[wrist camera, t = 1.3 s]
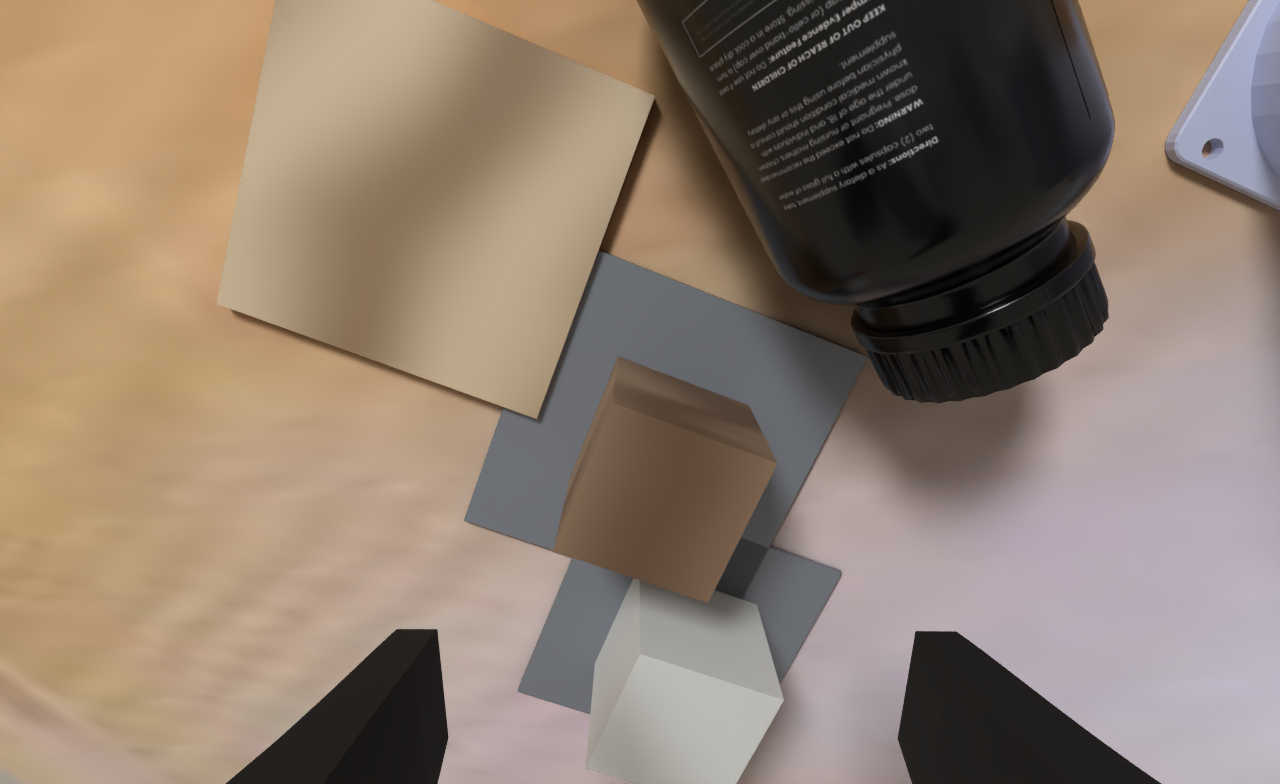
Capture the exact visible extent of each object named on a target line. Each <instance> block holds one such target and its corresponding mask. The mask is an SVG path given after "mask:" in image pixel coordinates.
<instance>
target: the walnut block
mask: <svg viewBox="0 0 1280 784" xmlns="http://www.w3.org/2000/svg"><path fill="white" fill-rule="evenodd" d="M777 464H778V463H777V461H776V459H775V457H774V455H773V453H772V451H771V449H770V447H769V445H768V443H767V441H766V439H765V437H764V435H763V433H762V431H761V429H760V427H759V425H758V423H757V421H756V419H755V417H754V415H753V413H752V411H751V408H750V406H749V405H747V404H744V403H741V402H739V401H736V400H733V399H731V398H728V397H725V396H723V395H720V394H717V393H715V392H712V391H710V390H707V389H704V388H702V387H699V386H696V385H694V384H691V383H688V382H686V381H683V380H680V379H678V378H675V377H672V376H670V375H667V374H664V373H662V372H659V371H657V370H654V369H651V368H649V367H646V366H643V365H641V364H638V363H635V362H633V361H630V360H627V359H625V358H622V357H619V356H618V357H617V359H616V362H615V364H614V367H613V370H612V372H611V375H610V377H609V380H608V382H607V385H606V387H605V390H604V392H603V395H602V397H601V400H600V402H599V405H598V407H597V410H596V413H595V415H594V418H593V420H592V423H591V425H590V428H589V430H588V433H587V435H586V438H585V440H584V443H583V445H582V448H581V451H580V453H579V456H578V458H577V461H576V463H575V466H574V468H573V471H572V473H571V476H570V479H569V483H568V488H567V492H566V497H565V501H564V505H563V510H562V514H561V519H560V523H559V528H558V532H557V536H556V541H555V545H554V550H553V551H554V552H557V553H560V554H563V555H566V556H569V557H572V558H575V559H578V560H581V561H584V562H587V563H590V564H593V565H596V566H599V567H602V568H605V569H608V570H611V571H614V572H617V573H620V574H623V575H626V576H629V577H632V578H635V579H638V580H641V581H644V582H647V583H650V584H653V585H656V586H659V587H662V588H665V589H667V590H670V591H673V592H676V593H679V594H682V595H685V596H688V597H691V598H694V599H697V600H700V601H703V602H706V603H708V602H709V600H710V598H711V596H712V594H713V592H714V590H715V588H716V586H717V584H718V582H719V580H720V578H721V576H722V574H723V572H724V570H725V568H726V566H727V564H728V562H729V560H730V558H731V556H732V554H733V552H734V550H735V548H736V546H737V544H738V542H739V540H740V538H741V536H742V534H743V532H744V530H745V528H746V526H747V524H748V522H749V520H750V518H751V516H752V514H753V512H754V510H755V508H756V506H757V504H758V502H759V500H760V498H761V496H762V494H763V492H764V490H765V488H766V486H767V484H768V482H769V480H770V478H771V476H772V474H773V472H774V470H775V468H776V466H777Z"/></svg>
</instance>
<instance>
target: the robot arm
mask: <svg viewBox="0 0 1280 784" xmlns="http://www.w3.org/2000/svg"><path fill="white" fill-rule="evenodd" d="M1207 141H1209V142H1210V143H1211V151H1210V154H1209V155H1208V156H1207V157H1206V158H1204V157H1203V156H1202V149H1203V146H1204V144H1205V143H1206V142H1207ZM1165 151H1166V154H1167V156H1168V158H1170V159H1171V160H1172V161H1173V162H1175V163H1177V164H1180V165H1182V166H1184V167H1186V168H1188V169H1190V170H1193V171H1195V172H1197V173H1199V174H1201V175H1203V176H1205V177H1208V178H1210V179H1212V180H1214V181H1216V182H1218V183H1221V184H1223V185H1225V186H1227V187H1229V188H1231V189H1233V190H1236V191H1238V192H1240V193H1242V194H1244V195H1246V196H1249V197H1251V198H1253V199H1255V200H1257V201H1259V202H1261V203H1264V204H1266V205H1268V206H1270V207H1272V208H1274V209H1277V210H1279V211H1280V0H1249V1H1248V3H1247V5H1246V6H1245V8H1244V10H1243V11H1242V13H1241V15H1240V16H1239V18H1238V20H1237V21H1236V23H1235V25H1234V26H1233V28H1232V30H1231V31H1230V33H1229V35H1228V36H1227V38H1226V40H1225V41H1224V43H1223V45H1222V46H1221V48H1220V50H1219V51H1218V53H1217V55H1216V56H1215V58H1214V60H1213V61H1212V63H1211V65H1210V66H1209V68H1208V70H1207V71H1206V73H1205V75H1204V77H1203V78H1202V80H1201V82H1200V83H1199V85H1198V87H1197V88H1196V90H1195V92H1194V93H1193V95H1192V97H1191V98H1190V100H1189V102H1188V103H1187V105H1186V107H1185V108H1184V110H1183V112H1182V113H1181V115H1180V117H1179V118H1178V120H1177V122H1176V123H1175V125H1174V127H1173V128H1172V130H1171V132H1170V133H1169V135H1168V138H1167V140H1166V143H1165ZM447 741H448V729H447V720H446V710H445V700H444V690H443V681H442V671H441V661H440V652H439V642H438V632H437V629H397V630H395V631H394V632H393V633H392V634H391V635H390V636H389V637H388V638H387V639H386V640H385V641H383V642H382V643H381V644H380V645H379V646H378V647H377V648H376V649H375V650H374V651H373V652H372V653H371V654H369V655H368V656H367V657H366V658H365V659H364V660H363V661H362V662H361V663H360V664H359V665H358V666H357V667H356V668H355V669H354V670H353V671H352V672H350V673H349V674H348V675H347V676H346V677H345V678H344V679H343V680H342V681H341V682H340V683H339V684H338V685H337V686H336V687H335V688H334V689H332V690H331V691H330V692H329V693H328V694H327V695H326V696H325V697H324V698H323V699H322V700H321V701H320V702H319V703H317V704H316V705H315V706H314V707H313V708H312V709H311V710H310V711H309V712H308V713H306V714H305V715H304V716H303V717H302V718H301V719H300V720H299V721H298V722H297V723H295V724H294V725H293V726H292V727H291V728H290V729H289V730H288V731H287V732H286V733H285V734H283V735H282V736H281V737H280V738H279V739H278V740H277V741H276V742H274V743H273V744H272V745H271V746H270V747H269V748H267V749H266V750H265V751H264V752H263V753H261V754H260V755H259V756H258V757H257V758H256V759H254V760H253V761H252V762H251V763H250V764H248V765H247V766H246V767H245V768H244V769H243V770H241V771H240V772H239V773H238V774H237V775H235V776H234V777H233V778H232V779H231V780H230V781H228V782H227V783H226V784H437V783H438V779H439V775H440V771H441V767H442V762H443V758H444V754H445V750H446V745H447ZM898 741H899V744H900V747H901V750H902V753H903V757H904V760H905V763H906V766H907V769H908V772H909V775H910V778H911V781H912V784H1161V783H1159V782H1158V781H1157V780H1155V779H1154V778H1152V777H1151V776H1149V775H1148V774H1146V773H1145V772H1144V771H1142V770H1141V769H1139V768H1138V767H1136V766H1135V765H1134V764H1132V763H1131V762H1129V761H1128V760H1127V759H1125V758H1124V757H1122V756H1121V755H1120V754H1118V753H1117V752H1116V751H1114V750H1113V749H1111V748H1110V747H1109V746H1107V745H1106V744H1105V743H1103V742H1102V741H1100V740H1099V739H1098V738H1096V737H1095V736H1094V735H1092V734H1091V733H1090V732H1088V731H1087V730H1086V729H1084V728H1083V727H1082V726H1080V725H1079V724H1078V723H1076V722H1075V721H1074V720H1072V719H1071V718H1070V717H1068V716H1067V715H1066V714H1064V713H1063V712H1062V711H1060V710H1059V709H1058V708H1056V707H1055V706H1054V705H1053V704H1051V703H1050V702H1049V701H1047V700H1046V699H1045V698H1043V697H1042V696H1041V695H1039V694H1038V693H1037V692H1036V691H1034V690H1033V689H1032V688H1030V687H1029V686H1028V685H1027V684H1025V683H1024V682H1023V681H1021V680H1020V679H1019V678H1017V677H1016V676H1015V675H1014V674H1012V673H1011V672H1010V671H1008V670H1007V669H1006V668H1005V667H1003V666H1002V665H1001V664H999V663H998V662H997V661H995V660H994V659H993V658H991V657H990V656H989V655H988V654H986V653H985V652H984V651H982V650H981V649H980V648H978V647H977V646H976V645H974V644H973V643H971V642H970V641H969V640H967V639H966V638H964V637H963V636H962V635H960V634H959V633H957V632H938V631H916V632H915V638H914V644H913V650H912V656H911V662H910V668H909V674H908V680H907V686H906V692H905V698H904V704H903V710H902V716H901V722H900V728H899V734H898Z"/></svg>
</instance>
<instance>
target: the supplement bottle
mask: <svg viewBox="0 0 1280 784" xmlns="http://www.w3.org/2000/svg"><path fill="white" fill-rule="evenodd" d="M637 2H638V4H639V6H640V8H641V10H642V12H643V14H644V16H645V18H646V19H647V21H648V23H649V25H650V27H651V29H652V31H653V33H654V35H655V37H656V39H657V41H658V43H659V45H660V47H661V49H662V51H663V53H664V55H665V57H666V59H667V60H668V62H669V64H670V66H671V68H672V70H673V72H674V74H675V76H676V78H677V80H678V82H679V84H680V86H681V88H682V90H683V92H684V94H685V96H686V98H687V100H688V101H689V103H690V105H691V107H692V109H693V111H694V113H695V115H696V117H697V119H698V121H699V123H700V125H701V127H702V129H703V131H704V133H705V135H706V137H707V139H708V141H709V142H710V144H711V146H712V148H713V150H714V152H715V154H716V156H717V158H718V160H719V162H720V164H721V166H722V168H723V170H724V172H725V174H726V176H727V178H728V180H729V182H730V183H731V185H732V187H733V189H734V191H735V193H736V195H737V197H738V199H739V201H740V203H741V205H742V207H743V209H744V211H745V213H746V215H747V217H748V219H749V221H750V223H751V224H752V226H753V228H754V230H755V232H756V234H757V236H758V238H759V240H760V242H761V244H762V246H763V248H764V250H765V252H766V254H767V256H768V257H769V259H770V261H771V262H772V264H773V266H774V268H775V270H776V271H777V273H778V275H779V276H780V277H781V279H782V280H783V281H784V282H785V283H786V284H787V285H788V286H790V287H791V288H793V289H794V290H795V291H797V292H799V293H800V294H802V295H804V296H806V297H808V298H810V299H813V300H816V301H820V302H824V303H830V304H838V305H854V306H855V308H856V309H855V310H854V312H853V314H852V317H851V326H852V328H853V330H854V332H855V335H856V337H857V339H858V341H859V343H860V344H861V345H862V346H863V347H864V348H866V350H867V353H868V355H869V357H870V359H871V361H872V363H873V365H874V367H875V369H876V371H877V373H878V375H879V377H880V379H881V381H882V383H883V385H884V386H885V387H886V388H887V389H889V390H890V391H891V392H892V394H893V395H896V396H902V397H903V398H904V399H905V400H916V401H917V402H920V403H922V402H935V403H942V402H947V401H962V400H965V399H969V398H972V397H981V396H986V395H989V394H991V393H994V392H996V391H1001V390H1006V389H1010V388H1012V387H1014V386H1016V385H1018V384H1020V383H1023V382H1027V381H1030V380H1034V379H1036V378H1037V377H1039V376H1040V375H1042V374H1043V373H1046V372H1048V371H1051V370H1054V369H1056V368H1058V367H1059V366H1061V365H1062V364H1063V363H1064V362H1065V361H1067V360H1069V359H1071V358H1073V357H1075V356H1077V355H1078V354H1079V353H1080V352H1081V350H1082V349H1083V348H1085V347H1086V346H1088V345H1090V344H1091V343H1093V341H1094V337H1095V336H1096V335H1097V334H1099V333H1100V332H1101V331H1102V330H1103V323H1104V322H1105V321H1106V320H1107V319H1108V318H1109V315H1108V299H1107V296H1106V293H1105V290H1104V287H1103V284H1102V282H1101V279H1100V276H1099V273H1098V270H1097V268H1096V265H1095V262H1094V260H1095V256H1096V252H1095V248H1094V245H1093V242H1092V240H1091V237H1090V235H1089V232H1088V230H1087V229H1086V228H1085V227H1084V226H1083V225H1082V224H1080V223H1077V222H1074V221H1070V220H1067V219H1066V215H1067V214H1068V213H1069V212H1070V211H1071V210H1072V209H1073V208H1074V207H1075V206H1076V205H1077V204H1078V203H1079V202H1080V201H1081V200H1082V199H1083V197H1084V196H1085V195H1086V194H1087V193H1088V192H1089V190H1090V189H1091V188H1092V186H1093V185H1094V183H1095V182H1096V181H1097V179H1098V178H1099V176H1100V174H1101V172H1102V171H1103V168H1104V166H1105V164H1106V162H1107V159H1108V157H1109V154H1110V151H1111V147H1112V143H1113V138H1114V131H1115V120H1114V115H1113V111H1112V107H1111V104H1110V101H1109V95H1108V92H1107V88H1106V85H1105V82H1104V79H1103V76H1102V73H1101V70H1100V67H1099V63H1098V60H1097V57H1096V54H1095V51H1094V48H1093V45H1092V42H1091V39H1090V35H1089V32H1088V29H1087V26H1086V23H1085V20H1084V17H1083V14H1082V11H1081V8H1080V4H1079V1H1078V0H637Z"/></svg>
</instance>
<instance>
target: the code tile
mask: <svg viewBox="0 0 1280 784" xmlns="http://www.w3.org/2000/svg"><path fill="white" fill-rule="evenodd" d="M618 356H619V357H622V358H625V359H627V360H630V361H633V362H635V363H638V364H641V365H643V366H646V367H649V368H651V369H654V370H657V371H659V372H662V373H664V374H667V375H670V376H672V377H675V378H678V379H680V380H683V381H686V382H688V383H691V384H694V385H696V386H699V387H702V388H704V389H707V390H710V391H712V392H715V393H717V394H720V395H723V396H725V397H728V398H731V399H733V400H736V401H739V402H741V403H744V404H747V405H749V406H750V408H751V411H752V413H753V415H754V417H755V419H756V421H757V423H758V425H759V427H760V429H761V431H762V433H763V435H764V437H765V439H766V441H767V443H768V445H769V447H770V449H771V451H772V453H773V455H774V457H775V459H776V461H777V463H778V464H777V466H776V468H775V470H774V472H773V474H772V476H771V478H770V480H769V482H768V484H767V486H766V488H765V490H764V492H763V494H762V496H761V498H760V500H759V502H758V504H757V506H756V508H755V510H754V512H753V514H752V516H751V518H750V520H749V522H748V524H747V526H746V528H745V530H744V532H743V534H742V536H741V538H742V539H741V538H740V540H739V542H741V541H742V540H744V539H745V542H744V541H743V542H742V544H743V543H747V544H749V543H750V545H748V546H749V548H750V549H749V548H748V546H747V545H746V544H743V545H741V543H739V542H738V544H737V546H736V547H737V548H740V547H745V548H740V549H741V550H744V551H746V550H747V548H748V549H749V550H748V552H749V551H750V552H751V551H753V550H756V548H755V547H756V545H758V544H759V547H758V546H757V549H758V550H759V551H758V550H757V553H756V551H755V552H754V551H753V552H751V553H752V554H751V553H750V552H749V554H751V555H750V558H752V557H753V556H755V555H756V554H758V556H757V557H756V556H755V558H754V557H753V558H752V559H755V561H759V563H761V560H760V559H762V561H763V558H764V557H765V553H764V551H765V552H766V551H768V549H769V547H770V545H771V543H772V541H773V540H774V538H775V536H776V534H777V532H778V530H779V528H780V526H781V524H782V522H783V520H784V518H785V516H786V514H787V512H788V510H789V509H790V507H791V505H792V503H793V501H794V499H795V497H796V495H797V493H798V491H799V489H800V487H801V485H802V483H803V481H804V480H805V478H806V476H807V474H808V472H809V470H810V468H811V466H812V464H813V462H814V460H815V458H816V456H817V454H818V452H819V450H820V449H821V447H822V445H823V443H824V441H825V439H826V437H827V435H828V433H829V431H830V429H831V427H832V425H833V423H834V421H835V420H836V418H837V416H838V414H839V412H840V410H841V408H842V406H843V404H844V402H845V400H846V398H847V396H848V394H849V392H850V390H851V389H852V387H853V385H854V383H855V381H856V379H857V377H858V375H859V373H860V371H861V369H862V367H863V365H864V363H865V361H866V360H867V358H868V357H867V356H865V355H863V354H860V353H857V352H855V351H852V350H850V349H847V348H845V347H842V346H840V345H837V344H835V343H832V342H830V341H827V340H825V339H822V338H820V337H817V336H815V335H812V334H810V333H807V332H804V331H802V330H799V329H797V328H794V327H792V326H789V325H787V324H784V323H782V322H779V321H777V320H774V319H772V318H769V317H767V316H764V315H762V314H759V313H757V312H754V311H752V310H749V309H746V308H744V307H741V306H739V305H736V304H734V303H731V302H729V301H726V300H724V299H721V298H719V297H716V296H714V295H711V294H709V293H706V292H704V291H701V290H699V289H696V288H693V287H691V286H688V285H686V284H683V283H681V282H678V281H676V280H673V279H671V278H668V277H666V276H663V275H661V274H658V273H656V272H653V271H651V270H648V269H646V268H643V267H641V266H638V265H635V264H633V263H630V262H628V261H625V260H623V259H620V258H618V257H615V256H613V255H610V254H608V253H605V252H603V251H600V250H599V251H598V253H597V256H596V259H595V262H594V264H593V267H592V270H591V272H590V275H589V278H588V281H587V283H586V286H585V289H584V292H583V294H582V297H581V300H580V302H579V305H578V308H577V311H576V313H575V316H574V319H573V322H572V324H571V327H570V330H569V332H568V335H567V338H566V341H565V343H564V346H563V349H562V352H561V354H560V357H559V360H558V362H557V365H556V368H555V371H554V373H553V376H552V379H551V382H550V384H549V387H548V390H547V392H546V395H545V398H544V401H543V403H542V406H541V409H540V412H539V414H538V417H537V419H535V418H533V417H530V416H527V415H524V414H522V413H519V412H516V411H513V410H510V409H508V408H505V407H503V410H502V413H501V416H500V418H499V421H498V424H497V427H496V430H495V433H494V436H493V439H492V441H491V444H490V447H489V450H488V453H487V456H486V459H485V462H484V464H483V467H482V470H481V473H480V476H479V479H478V482H477V485H476V487H475V490H474V493H473V496H472V499H471V502H470V505H469V508H468V510H467V513H466V516H465V519H464V521H467V522H470V523H473V524H476V525H479V526H482V527H485V528H488V529H491V530H494V531H497V532H500V533H503V534H506V535H509V536H512V537H515V538H518V539H520V540H523V541H526V542H529V543H532V544H535V545H538V546H541V547H544V548H547V549H550V550H554V545H555V541H556V536H557V532H558V528H559V523H560V519H561V514H562V510H563V505H564V501H565V497H566V492H567V488H568V483H569V479H570V476H571V473H572V471H573V468H574V466H575V463H576V461H577V458H578V456H579V453H580V451H581V448H582V445H583V443H584V440H585V438H586V435H587V433H588V430H589V428H590V425H591V423H592V420H593V418H594V415H595V413H596V410H597V407H598V405H599V402H600V400H601V397H602V395H603V392H604V390H605V387H606V385H607V382H608V380H609V377H610V375H611V372H612V370H613V367H614V364H615V362H616V359H617V357H618ZM748 540H749V542H748ZM750 541H751V542H750ZM752 542H754V544H755V545H754V544H753V543H752ZM751 543H752V544H751ZM739 544H740V545H739ZM738 545H739V546H738ZM744 545H746V546H744ZM752 545H753V546H752ZM760 545H762V546H760ZM750 546H752V549H751V547H750ZM754 546H755V547H754ZM763 546H765V547H763ZM760 547H762V549H761V548H760ZM766 547H767V549H766ZM753 548H755V549H753ZM759 548H760V549H759ZM764 548H765V549H766V550H765V549H764ZM735 549H736V548H735ZM740 549H736V550H734V551H735V553H734V552H733V555H734V554H735V557H736V556H737V554H736V553H737V552H739V553H740V551H741V550H740ZM745 549H746V550H745ZM763 549H764V550H763ZM739 550H740V551H739ZM761 550H762V551H761ZM744 551H741V552H742V553H741V554H739V553H738V554H739V555H742V554H743V555H742V556H743V558H742V557H741V556H739V555H738V556H737V557H736V558H737V560H739V562H740V560H741V559H740V558H742V560H741V561H742V563H745V564H746V565H747V566H746V565H745V564H740V563H741V562H740V563H739V562H736V560H734V558H735V557H734V556H732V557H733V558H732V559H731V558H730V560H731V561H730V560H729V562H731V563H732V562H733V563H732V565H733V564H735V565H736V564H737V565H738V564H740V565H738V566H739V567H738V566H737V565H736V566H735V565H733V566H731V563H728V564H727V565H728V567H729V568H731V567H732V568H731V570H732V569H733V570H735V569H736V570H735V572H734V571H733V570H732V571H733V572H734V575H733V574H731V575H730V577H728V579H730V578H731V577H733V579H730V581H731V582H732V580H733V582H734V584H739V585H735V586H737V587H735V586H733V584H732V583H733V582H732V583H731V582H730V585H729V586H731V585H732V586H731V588H732V587H733V588H734V590H732V589H733V588H732V589H731V590H729V588H727V587H726V585H728V583H729V582H728V581H729V580H725V581H726V582H725V581H724V579H727V576H728V575H729V574H730V573H733V572H732V571H731V570H730V571H729V572H728V570H729V569H728V568H725V569H726V570H725V571H724V572H725V573H723V574H726V572H727V574H728V573H729V574H728V575H726V577H725V575H723V574H722V575H723V576H721V577H723V578H722V579H723V581H722V580H721V578H720V580H719V582H718V584H717V585H718V586H719V587H720V588H723V589H720V588H719V587H717V589H716V588H715V590H716V591H720V592H721V590H723V591H722V592H723V593H724V592H727V593H724V594H731V593H732V594H733V593H734V595H733V596H734V597H735V596H737V597H736V598H738V597H739V598H741V597H743V595H744V594H746V593H743V594H741V595H742V596H741V595H740V593H741V592H747V591H746V589H745V588H747V589H748V588H749V586H750V585H749V584H748V583H750V581H751V580H750V579H747V578H748V577H747V578H746V577H745V575H746V574H747V575H746V576H749V578H751V579H752V580H753V578H754V576H753V575H755V574H756V573H755V572H757V571H756V570H753V569H755V568H756V569H757V568H759V567H760V564H759V563H758V562H755V561H754V560H753V562H754V563H753V562H752V563H750V562H751V561H752V559H750V558H749V557H748V556H749V554H748V553H747V554H746V553H743V552H744ZM746 552H747V551H746ZM759 552H762V553H759ZM753 553H754V554H753ZM763 553H764V554H763ZM766 553H767V552H766ZM744 554H745V555H744ZM752 555H753V556H752ZM760 555H761V556H760ZM762 555H763V556H762ZM760 557H762V558H760ZM736 558H735V559H736ZM745 558H747V559H748V558H749V561H750V562H749V561H748V560H746V559H745ZM756 558H757V560H756ZM759 558H760V559H759ZM758 559H759V560H758ZM733 560H734V561H733ZM744 560H746V561H744ZM734 562H735V563H734ZM749 563H750V564H749ZM755 563H758V564H759V566H758V564H757V566H758V567H754V568H753V567H752V566H756V565H755ZM748 564H749V565H751V564H753V565H751V566H749V567H751V568H749V567H748ZM741 565H743V567H742V566H741ZM744 565H745V566H744ZM734 566H735V569H734V568H733V567H734ZM736 567H738V568H736ZM745 567H747V569H748V568H749V569H748V570H750V572H751V573H754V574H752V575H751V574H750V573H749V572H748V570H747V569H746V568H745ZM739 568H742V569H741V571H740V569H739ZM744 568H745V569H746V571H747V573H746V571H743V570H744ZM738 570H739V571H738ZM752 570H753V571H755V572H753V571H752ZM757 570H758V569H757ZM737 571H738V573H739V572H741V574H742V573H743V574H742V575H743V576H744V577H745V578H744V577H743V576H742V575H741V574H740V573H739V575H740V576H739V575H738V576H737V574H738V573H737V574H736V572H737ZM745 573H746V574H745ZM744 574H745V575H744ZM748 574H750V575H748ZM732 575H733V576H732ZM735 575H736V576H735ZM741 576H742V579H745V580H740V579H741V578H739V577H741ZM724 577H725V578H724ZM735 577H738V579H739V580H740V581H739V580H737V581H736V579H737V578H736V579H735ZM746 579H747V581H748V580H749V581H748V582H747V581H746ZM734 580H735V581H734ZM742 581H743V582H744V581H746V583H747V586H745V585H746V584H745V585H744V583H745V582H744V583H743V582H742ZM721 582H723V583H721ZM727 582H728V583H727ZM736 582H737V583H736ZM738 582H739V583H738ZM740 582H742V584H743V585H744V586H745V588H744V589H745V591H741V592H740V590H741V589H742V590H743V588H740V587H741V586H740V585H742V584H741V583H740ZM751 582H752V581H751ZM720 583H721V584H724V583H725V588H724V585H722V586H721V584H720ZM719 584H720V585H719ZM750 584H751V583H750ZM743 585H742V586H743ZM748 585H749V586H748ZM729 586H728V587H729ZM744 586H743V587H744ZM718 588H719V589H718ZM736 588H740V589H738V590H739V592H737V591H738V590H736ZM724 589H725V590H726V591H725V590H724ZM727 590H728V591H727ZM735 590H736V591H735ZM731 591H734V592H731ZM722 592H721V593H722ZM728 592H730V593H728ZM736 593H739V594H736ZM732 594H731V595H730V596H732ZM735 594H736V595H735ZM742 599H743V598H742Z"/></svg>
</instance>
